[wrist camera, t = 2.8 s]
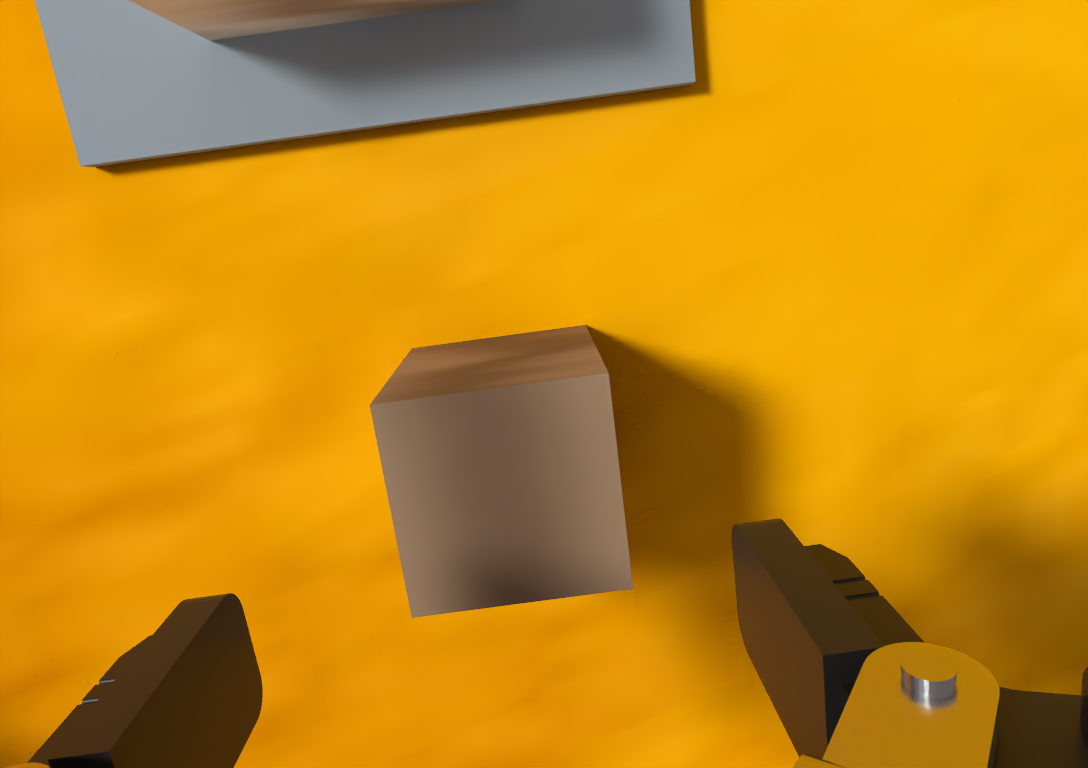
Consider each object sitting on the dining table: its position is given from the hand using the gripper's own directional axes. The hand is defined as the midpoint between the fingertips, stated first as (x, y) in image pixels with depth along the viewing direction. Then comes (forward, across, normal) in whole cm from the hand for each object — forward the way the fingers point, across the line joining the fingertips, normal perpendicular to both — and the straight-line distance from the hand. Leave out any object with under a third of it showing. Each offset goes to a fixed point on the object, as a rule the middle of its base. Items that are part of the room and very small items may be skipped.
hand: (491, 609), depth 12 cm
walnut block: (+10, 0, 0) cm, 10 cm away
